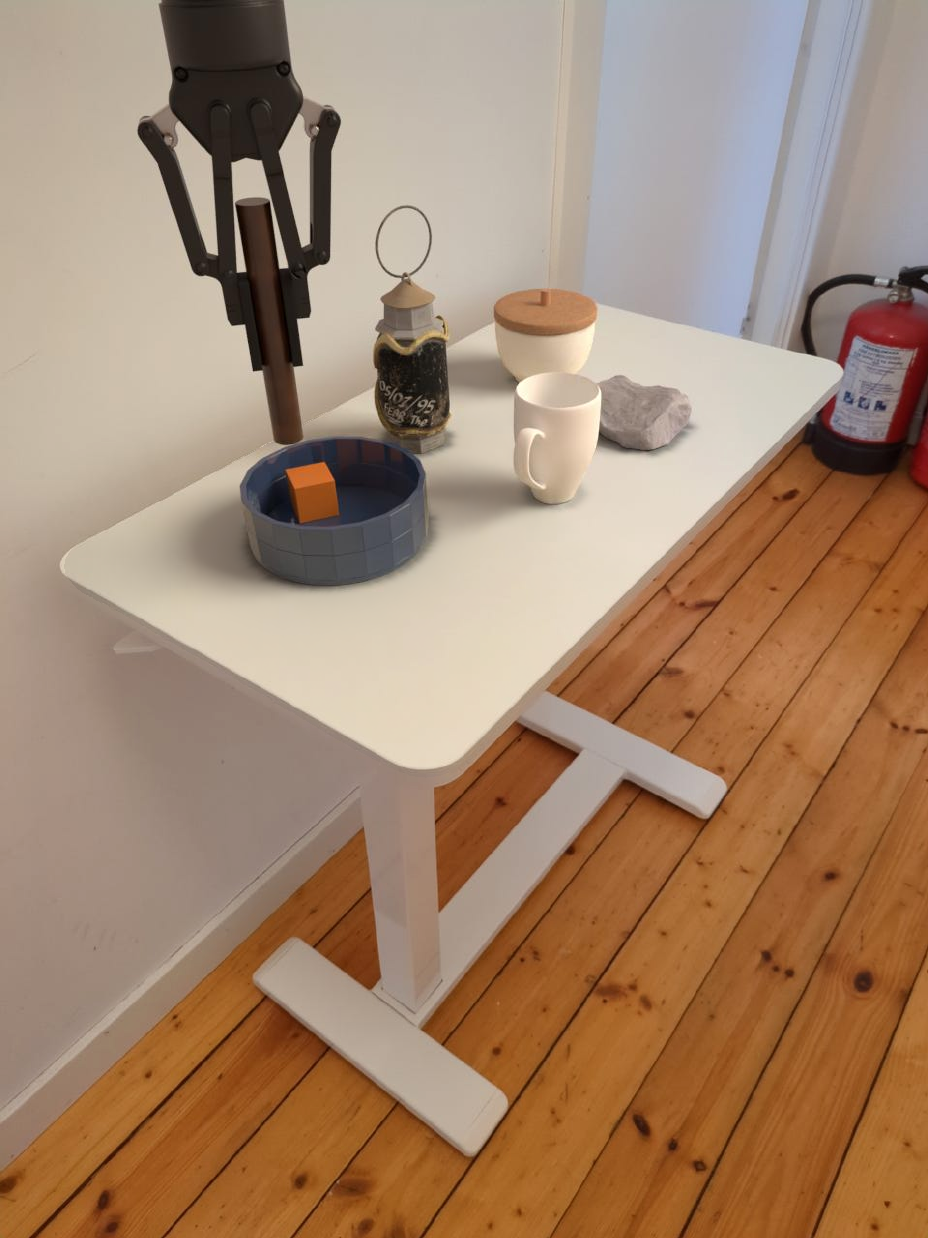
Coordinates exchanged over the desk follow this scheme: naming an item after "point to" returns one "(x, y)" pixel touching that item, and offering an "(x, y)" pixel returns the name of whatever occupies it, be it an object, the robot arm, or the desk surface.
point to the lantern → (411, 363)
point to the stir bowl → (368, 511)
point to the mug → (555, 433)
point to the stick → (270, 317)
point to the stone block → (641, 413)
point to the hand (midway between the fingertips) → (276, 361)
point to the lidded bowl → (544, 331)
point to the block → (312, 492)
